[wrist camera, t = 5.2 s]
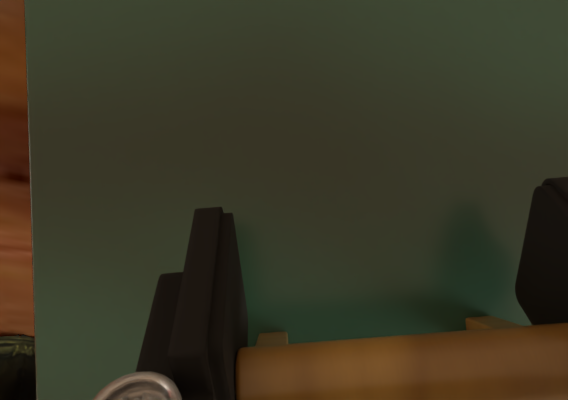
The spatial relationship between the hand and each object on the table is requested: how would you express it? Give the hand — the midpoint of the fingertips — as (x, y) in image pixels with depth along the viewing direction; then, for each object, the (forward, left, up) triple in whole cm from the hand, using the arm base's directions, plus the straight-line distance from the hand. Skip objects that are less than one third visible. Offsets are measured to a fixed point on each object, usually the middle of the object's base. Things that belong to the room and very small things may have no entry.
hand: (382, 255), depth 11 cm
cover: (0, 0, -3) cm, 3 cm away
